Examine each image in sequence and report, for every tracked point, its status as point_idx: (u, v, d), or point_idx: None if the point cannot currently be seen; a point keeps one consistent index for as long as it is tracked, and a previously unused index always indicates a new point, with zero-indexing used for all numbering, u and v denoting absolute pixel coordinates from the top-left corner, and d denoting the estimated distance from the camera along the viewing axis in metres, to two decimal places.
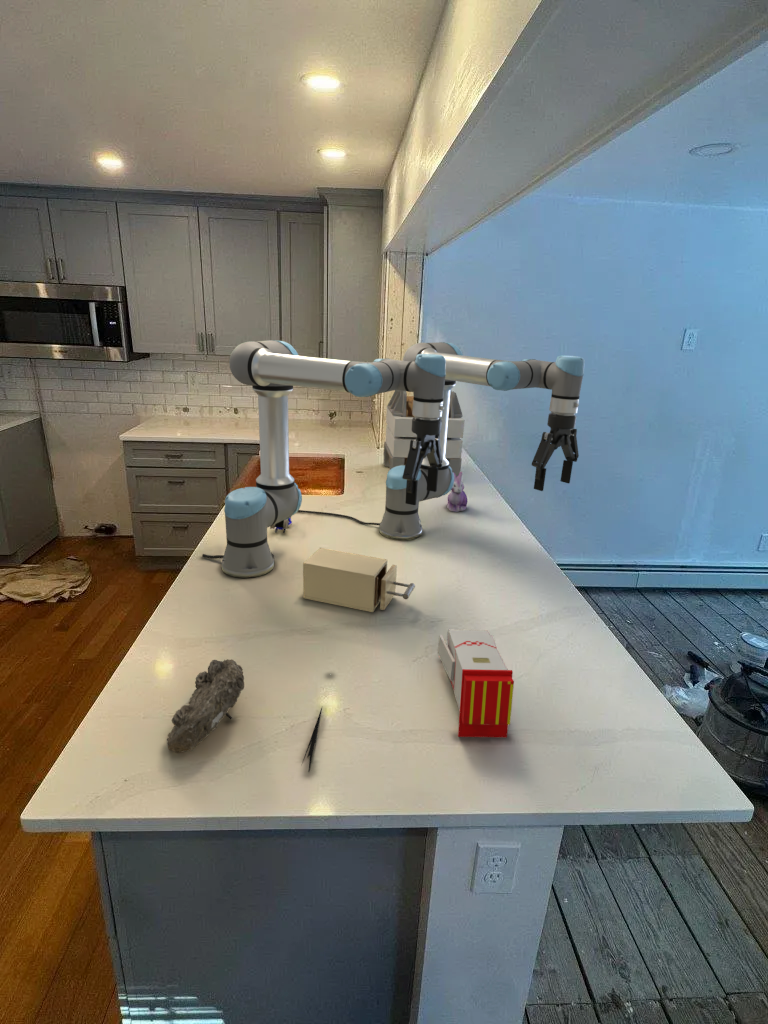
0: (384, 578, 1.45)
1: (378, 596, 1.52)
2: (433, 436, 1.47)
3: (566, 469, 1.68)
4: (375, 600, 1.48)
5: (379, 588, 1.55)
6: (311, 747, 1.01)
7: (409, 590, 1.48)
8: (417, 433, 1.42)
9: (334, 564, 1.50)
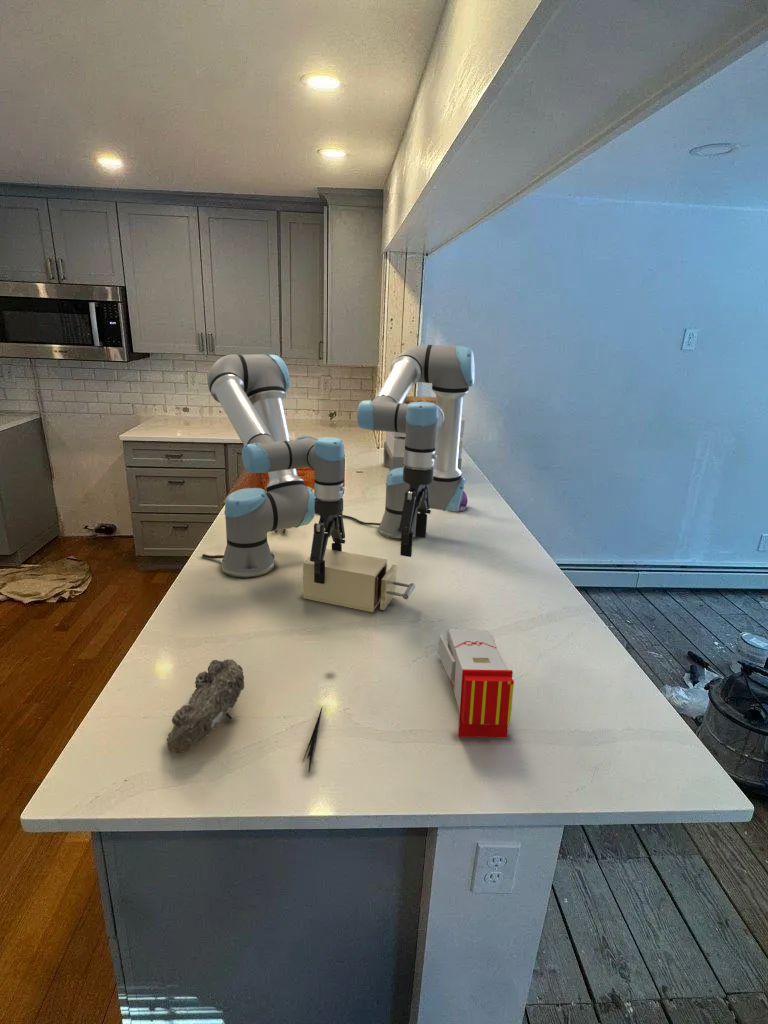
0: (385, 579, 1.45)
1: (378, 596, 1.52)
2: None
3: (421, 523, 1.51)
4: (375, 600, 1.48)
5: (379, 588, 1.55)
6: (311, 747, 1.01)
7: (409, 590, 1.48)
8: (320, 514, 1.45)
9: (334, 564, 1.50)
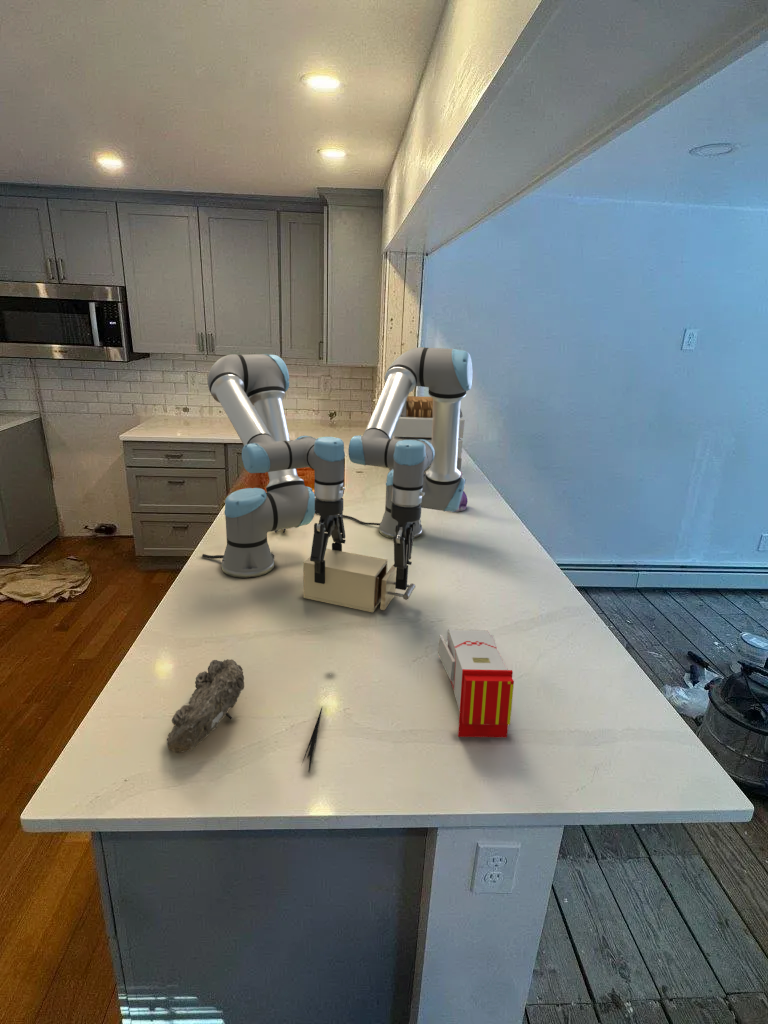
0: (385, 579, 1.45)
1: (378, 596, 1.52)
2: None
3: None
4: (375, 600, 1.48)
5: (379, 588, 1.55)
6: (311, 747, 1.01)
7: (409, 590, 1.48)
8: (320, 514, 1.45)
9: (334, 564, 1.49)
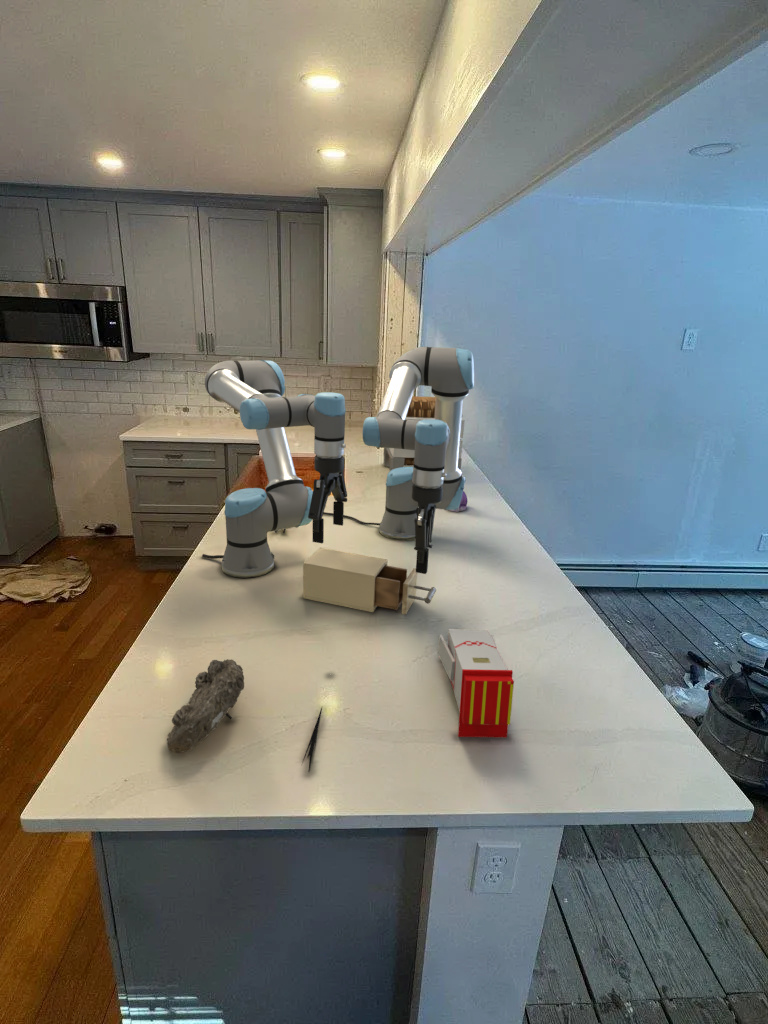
0: (406, 583, 1.43)
1: (399, 600, 1.50)
2: (336, 472, 1.47)
3: None
4: (396, 604, 1.46)
5: (399, 592, 1.54)
6: (311, 747, 1.01)
7: (431, 594, 1.46)
8: (320, 472, 1.42)
9: (334, 564, 1.50)
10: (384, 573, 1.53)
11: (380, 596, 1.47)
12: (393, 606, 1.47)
